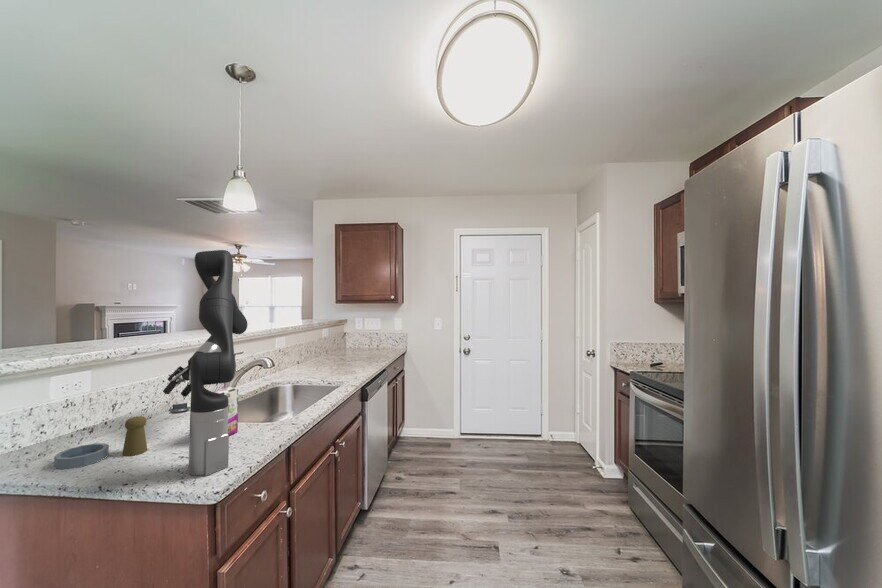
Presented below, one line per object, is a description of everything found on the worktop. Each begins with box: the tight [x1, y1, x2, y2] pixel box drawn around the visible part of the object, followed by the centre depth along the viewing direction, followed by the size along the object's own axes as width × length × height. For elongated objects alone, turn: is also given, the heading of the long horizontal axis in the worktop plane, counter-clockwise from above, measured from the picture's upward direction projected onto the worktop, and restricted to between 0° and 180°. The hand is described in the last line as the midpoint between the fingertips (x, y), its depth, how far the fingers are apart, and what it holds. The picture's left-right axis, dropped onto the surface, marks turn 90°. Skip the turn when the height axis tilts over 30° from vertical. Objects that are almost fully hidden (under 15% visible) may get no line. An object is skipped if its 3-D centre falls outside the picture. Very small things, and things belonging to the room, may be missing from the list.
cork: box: [121, 415, 148, 457], centre depth 110 cm, size 6×6×11 cm
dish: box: [53, 442, 110, 470], centre depth 104 cm, size 11×11×3 cm
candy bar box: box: [213, 386, 239, 437], centre depth 123 cm, size 11×5×16 cm, turn 171°
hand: (174, 394), depth 122 cm, fingers open, 8 cm apart
